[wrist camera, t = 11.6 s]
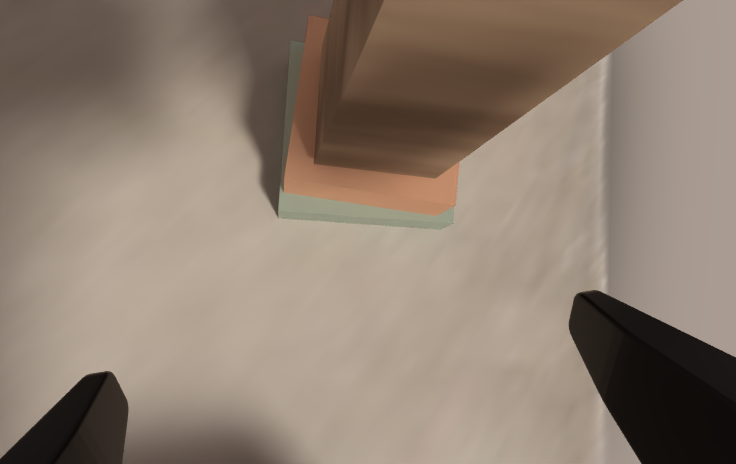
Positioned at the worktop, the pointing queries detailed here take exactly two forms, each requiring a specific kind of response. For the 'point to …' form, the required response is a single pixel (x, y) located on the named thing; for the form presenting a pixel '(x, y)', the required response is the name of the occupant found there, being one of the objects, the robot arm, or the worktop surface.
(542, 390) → the worktop surface
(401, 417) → the worktop surface
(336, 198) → the tower top
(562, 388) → the worktop surface
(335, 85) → the walnut block
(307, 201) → the tower base
